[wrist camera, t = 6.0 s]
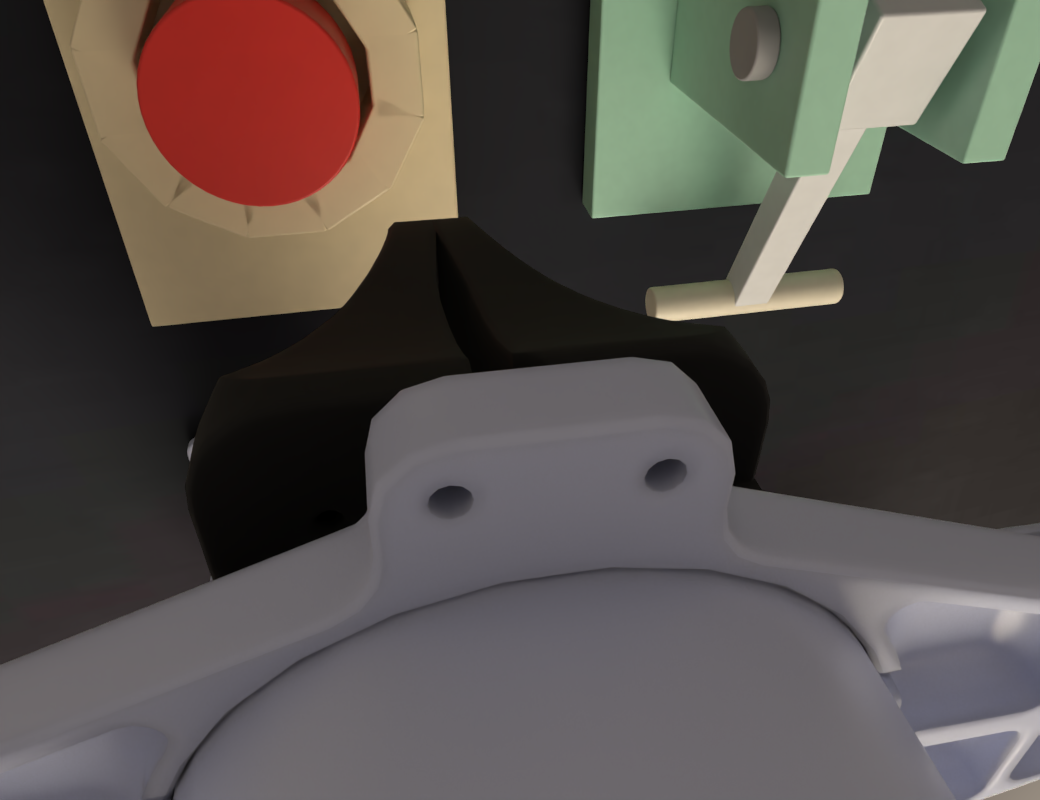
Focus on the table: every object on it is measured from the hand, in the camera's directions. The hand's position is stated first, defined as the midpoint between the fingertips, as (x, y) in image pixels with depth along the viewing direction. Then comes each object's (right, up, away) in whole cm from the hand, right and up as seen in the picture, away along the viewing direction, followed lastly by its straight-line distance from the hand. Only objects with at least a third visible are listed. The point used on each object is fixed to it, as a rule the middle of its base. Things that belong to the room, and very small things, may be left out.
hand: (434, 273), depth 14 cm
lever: (+8, +4, +7) cm, 12 cm away
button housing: (-5, +6, +7) cm, 11 cm away
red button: (-4, +5, +4) cm, 8 cm away
